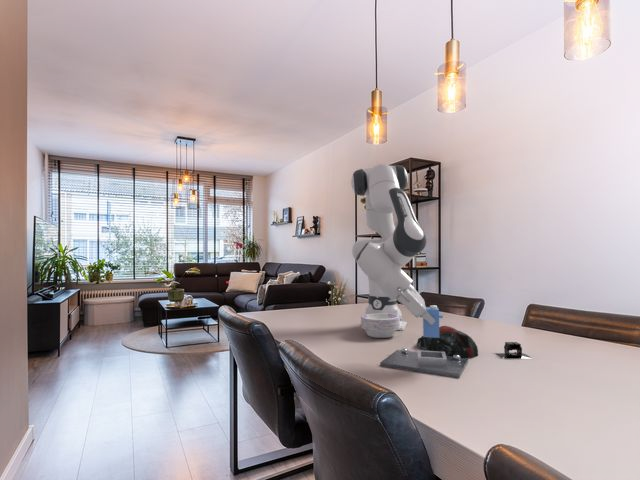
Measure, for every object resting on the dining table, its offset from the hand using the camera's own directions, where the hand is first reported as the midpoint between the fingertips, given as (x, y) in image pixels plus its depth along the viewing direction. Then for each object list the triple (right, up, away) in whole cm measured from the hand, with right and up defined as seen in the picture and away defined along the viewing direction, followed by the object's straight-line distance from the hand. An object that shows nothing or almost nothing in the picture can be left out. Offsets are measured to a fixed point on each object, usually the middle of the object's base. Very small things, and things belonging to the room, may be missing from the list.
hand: (433, 320), depth 110 cm
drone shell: (+10, -14, +18) cm, 25 cm away
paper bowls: (-9, -14, +38) cm, 42 cm away
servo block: (-1, -4, 0) cm, 4 cm away
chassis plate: (-2, -13, +1) cm, 13 cm away
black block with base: (+28, -14, +9) cm, 32 cm away
